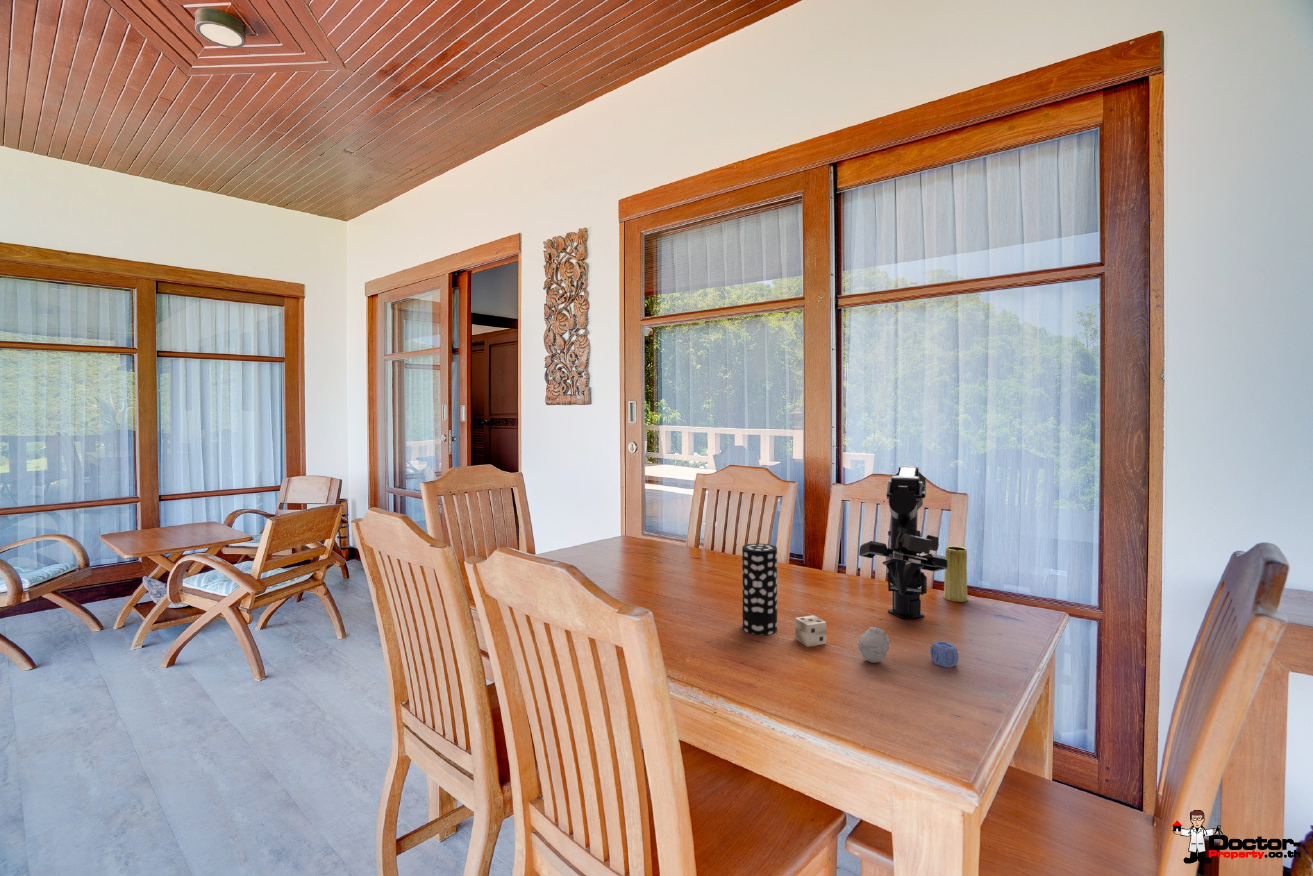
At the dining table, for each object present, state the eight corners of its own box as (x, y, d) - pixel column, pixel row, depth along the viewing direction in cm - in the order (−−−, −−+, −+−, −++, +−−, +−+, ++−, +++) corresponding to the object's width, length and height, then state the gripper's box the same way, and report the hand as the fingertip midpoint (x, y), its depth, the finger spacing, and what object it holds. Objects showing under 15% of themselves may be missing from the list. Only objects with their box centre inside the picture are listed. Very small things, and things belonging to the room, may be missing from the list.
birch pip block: (795, 639, 136) (795, 617, 136) (813, 636, 138) (813, 614, 137) (807, 647, 131) (807, 624, 131) (826, 644, 133) (826, 622, 133)
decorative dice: (948, 659, 124) (948, 640, 124) (958, 667, 120) (959, 648, 120) (929, 659, 124) (930, 641, 124) (939, 668, 120) (939, 648, 120)
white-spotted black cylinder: (756, 637, 137) (756, 553, 136) (735, 626, 144) (735, 546, 143) (784, 631, 141) (784, 548, 140) (762, 620, 148) (762, 542, 147)
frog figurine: (896, 662, 123) (896, 629, 123) (876, 670, 119) (876, 637, 119) (870, 652, 128) (871, 621, 128) (850, 660, 124) (851, 628, 123)
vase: (965, 596, 165) (966, 546, 165) (969, 603, 159) (970, 551, 159) (942, 594, 167) (942, 545, 167) (945, 601, 161) (945, 550, 161)
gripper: (882, 511, 130) (879, 581, 124) (962, 528, 130) (963, 599, 125) (860, 521, 140) (856, 587, 134) (934, 537, 141) (933, 603, 135)
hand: (901, 594), depth 132 cm, fingers closed
